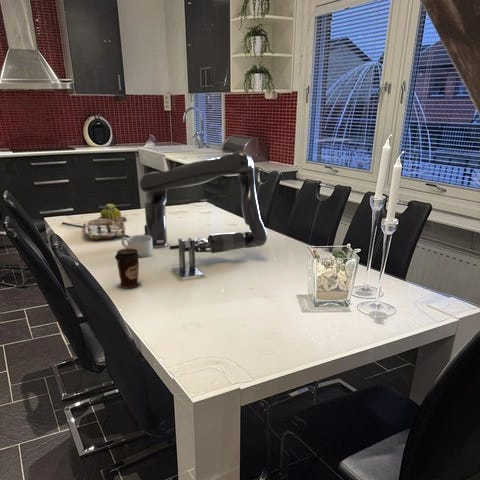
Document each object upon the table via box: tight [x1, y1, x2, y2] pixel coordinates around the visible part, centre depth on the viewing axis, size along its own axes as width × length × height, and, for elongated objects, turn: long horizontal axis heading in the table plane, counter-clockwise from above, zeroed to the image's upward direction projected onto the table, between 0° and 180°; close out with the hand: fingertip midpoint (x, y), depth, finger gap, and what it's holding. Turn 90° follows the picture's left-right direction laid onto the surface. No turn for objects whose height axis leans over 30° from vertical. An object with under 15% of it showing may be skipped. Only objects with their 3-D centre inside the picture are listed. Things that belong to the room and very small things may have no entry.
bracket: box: [172, 237, 204, 279], centre depth 180 cm, size 12×9×14 cm
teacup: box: [120, 234, 154, 259], centre depth 203 cm, size 14×11×8 cm
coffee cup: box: [114, 248, 140, 289], centre depth 167 cm, size 9×8×13 cm
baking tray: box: [81, 218, 127, 241], centre depth 236 cm, size 30×22×5 cm
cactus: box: [97, 203, 127, 223], centre depth 266 cm, size 17×16×10 cm
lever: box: [169, 240, 191, 250], centre depth 182 cm, size 12×8×2 cm, turn 24°
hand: (181, 247), depth 186 cm, fingers closed on lever, 3 cm apart
